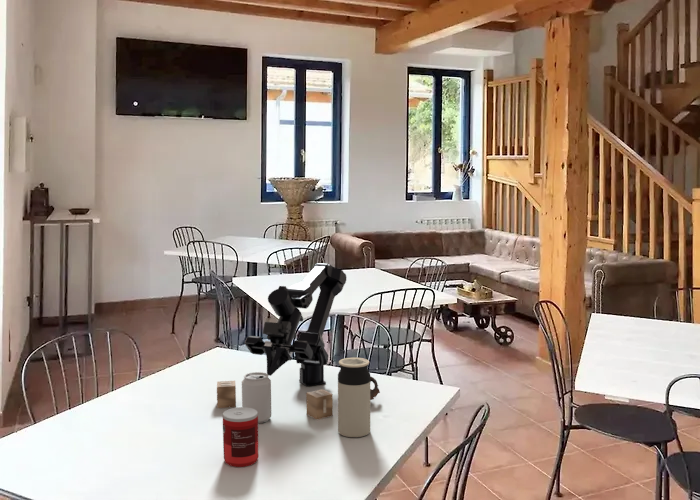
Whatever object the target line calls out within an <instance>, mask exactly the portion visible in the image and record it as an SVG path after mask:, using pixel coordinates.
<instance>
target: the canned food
mask: <svg viewBox="0 0 700 500" xmlns="http://www.w3.org/2000/svg"><path fill="white" fill-rule="evenodd" d="M222 441H223V442H222V443H223V459H224V463H225V464H226V465H228V466H229V467H233V468H245V467H250V466H252V465H254V464H256V463H257V462H258V461H259V423H258V413H257V411H256V410H255V409H252V408H247V407H242V406H240V407H237V406H236V407H231V408H229V409H226V410H224V411H223V413H222Z"/></svg>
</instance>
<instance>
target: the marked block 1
mask: <svg viewBox="0 0 700 500" xmlns="http://www.w3.org/2000/svg"><path fill="white" fill-rule="evenodd" d="M236 389H237V388H236V380H225V381H224V380H222V381H216V401H217V402H216V403H217V409H225V408H226V409H227V408H229V409H230V408H237V395H236V394H237V392H236V391H237V390H236Z"/></svg>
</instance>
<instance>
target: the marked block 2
mask: <svg viewBox="0 0 700 500" xmlns="http://www.w3.org/2000/svg"><path fill="white" fill-rule="evenodd" d="M305 399H306V415H307V416H309V417H311V418H312V419H315V420H316V421H317V420H323V419H326V418H330V417H333V416H334V414H333V413H334V411H333V410H334V409H333V405H334V403H333V400H334V399H333V393H331V392H330V391H327V390H325V389H323V388H321V389H317V390H312V391H307V392H306V398H305Z"/></svg>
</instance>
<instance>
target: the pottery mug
mask: <svg viewBox="0 0 700 500" xmlns="http://www.w3.org/2000/svg"><path fill="white" fill-rule="evenodd" d="M371 382H372V383H373V384H374V387H373V389H371V388H370V401H372V400H374V398H376V397H377V395H378V394H380V393H381V392H380V389H379V385H378V381H377V380H376V378H374V377H372V375H370V383H371Z"/></svg>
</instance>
